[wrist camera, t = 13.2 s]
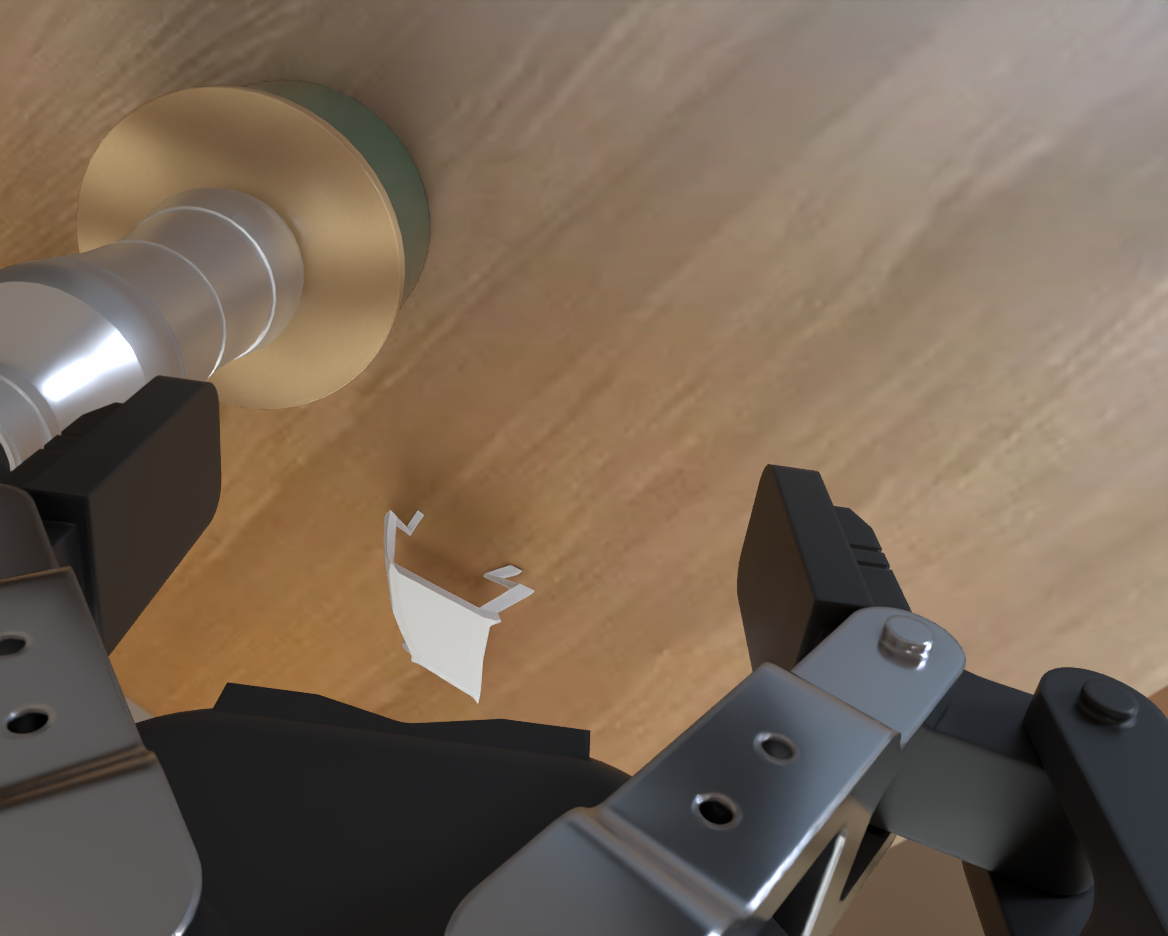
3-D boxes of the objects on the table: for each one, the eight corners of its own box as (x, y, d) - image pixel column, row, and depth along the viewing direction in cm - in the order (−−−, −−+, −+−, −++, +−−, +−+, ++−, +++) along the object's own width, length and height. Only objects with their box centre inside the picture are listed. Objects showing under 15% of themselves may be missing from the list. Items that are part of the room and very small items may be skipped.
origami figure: (570, 600, 58) (567, 649, 53) (471, 672, 60) (460, 724, 56) (430, 464, 54) (414, 504, 50) (331, 546, 57) (307, 592, 52)
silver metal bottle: (150, 302, 41) (-210, 533, 23) (181, 150, 38) (-201, 277, 20) (295, 357, 42) (58, 619, 24) (336, 212, 39) (102, 385, 21)
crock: (157, 53, 45) (58, 63, 37) (444, 93, 46) (408, 112, 37) (174, 328, 51) (91, 389, 43) (428, 361, 51) (393, 428, 43)
